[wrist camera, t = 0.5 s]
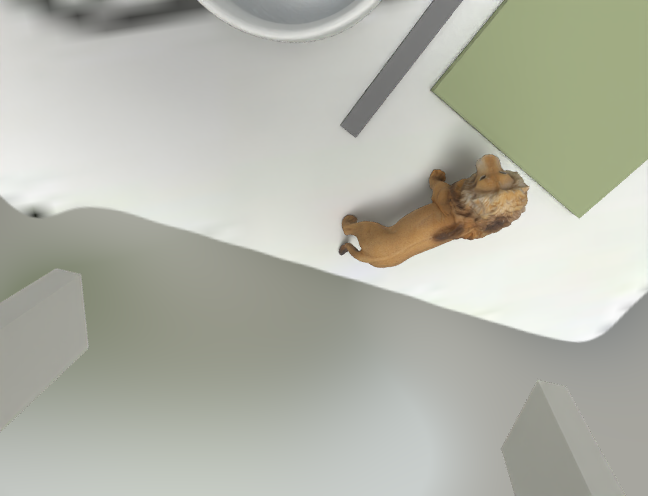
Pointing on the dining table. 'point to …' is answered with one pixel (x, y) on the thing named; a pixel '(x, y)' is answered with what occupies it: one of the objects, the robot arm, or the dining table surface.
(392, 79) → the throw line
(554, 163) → the mat
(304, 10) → the mug
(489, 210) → the lion figurine
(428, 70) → the dining table surface
